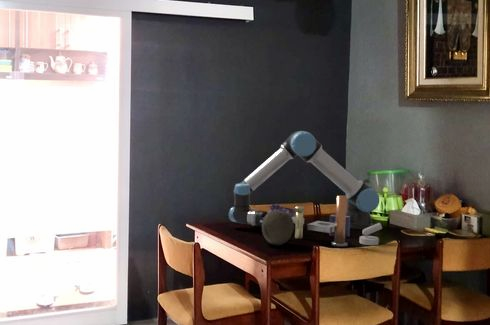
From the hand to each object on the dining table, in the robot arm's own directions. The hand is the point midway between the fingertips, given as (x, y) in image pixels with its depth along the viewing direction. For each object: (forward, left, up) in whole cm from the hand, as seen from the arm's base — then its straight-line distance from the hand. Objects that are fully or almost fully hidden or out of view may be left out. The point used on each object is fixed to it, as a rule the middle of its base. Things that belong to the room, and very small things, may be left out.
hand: (297, 223), depth 277 cm
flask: (-22, -5, -7) cm, 23 cm away
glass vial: (-1, 0, -7) cm, 7 cm away
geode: (0, -42, -7) cm, 43 cm away
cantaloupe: (+12, +14, -7) cm, 20 cm away
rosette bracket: (-12, +12, -7) cm, 18 cm away
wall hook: (-32, +11, -7) cm, 35 cm away
